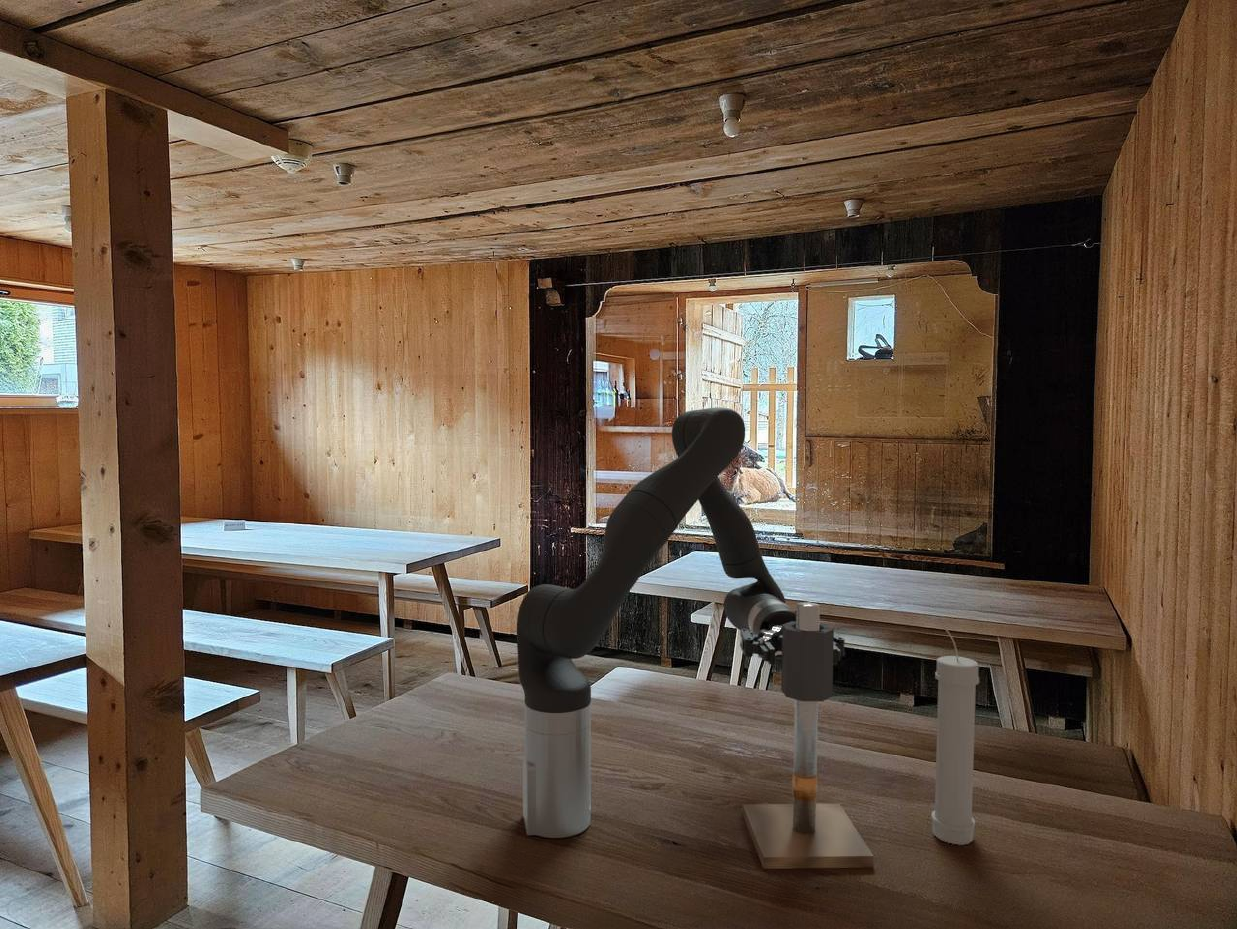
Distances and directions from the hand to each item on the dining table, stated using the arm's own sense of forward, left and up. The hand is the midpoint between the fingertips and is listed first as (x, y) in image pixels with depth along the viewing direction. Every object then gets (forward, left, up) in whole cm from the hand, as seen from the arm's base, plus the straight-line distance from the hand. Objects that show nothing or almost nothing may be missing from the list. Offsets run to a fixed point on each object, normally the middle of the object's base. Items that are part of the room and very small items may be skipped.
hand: (804, 657), depth 108 cm
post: (0, -2, -25) cm, 25 cm away
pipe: (+20, -5, -25) cm, 32 cm away
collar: (0, -2, -4) cm, 5 cm away
